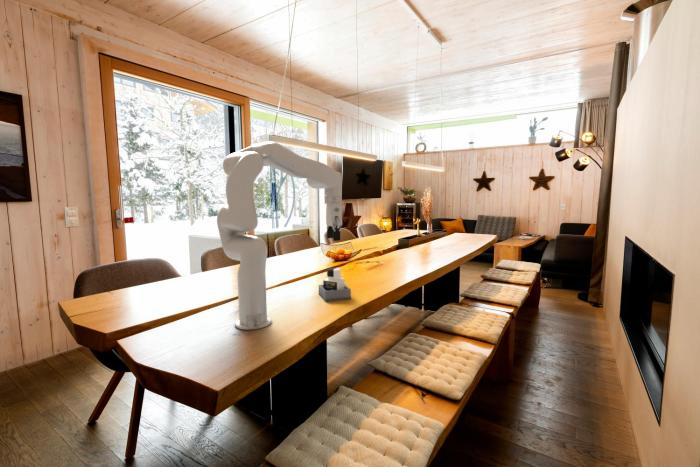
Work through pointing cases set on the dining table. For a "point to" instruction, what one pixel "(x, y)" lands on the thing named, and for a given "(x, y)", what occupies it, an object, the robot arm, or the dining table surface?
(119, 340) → the dining table surface
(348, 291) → the grey square tray
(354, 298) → the dining table surface
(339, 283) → the medicine bottle
